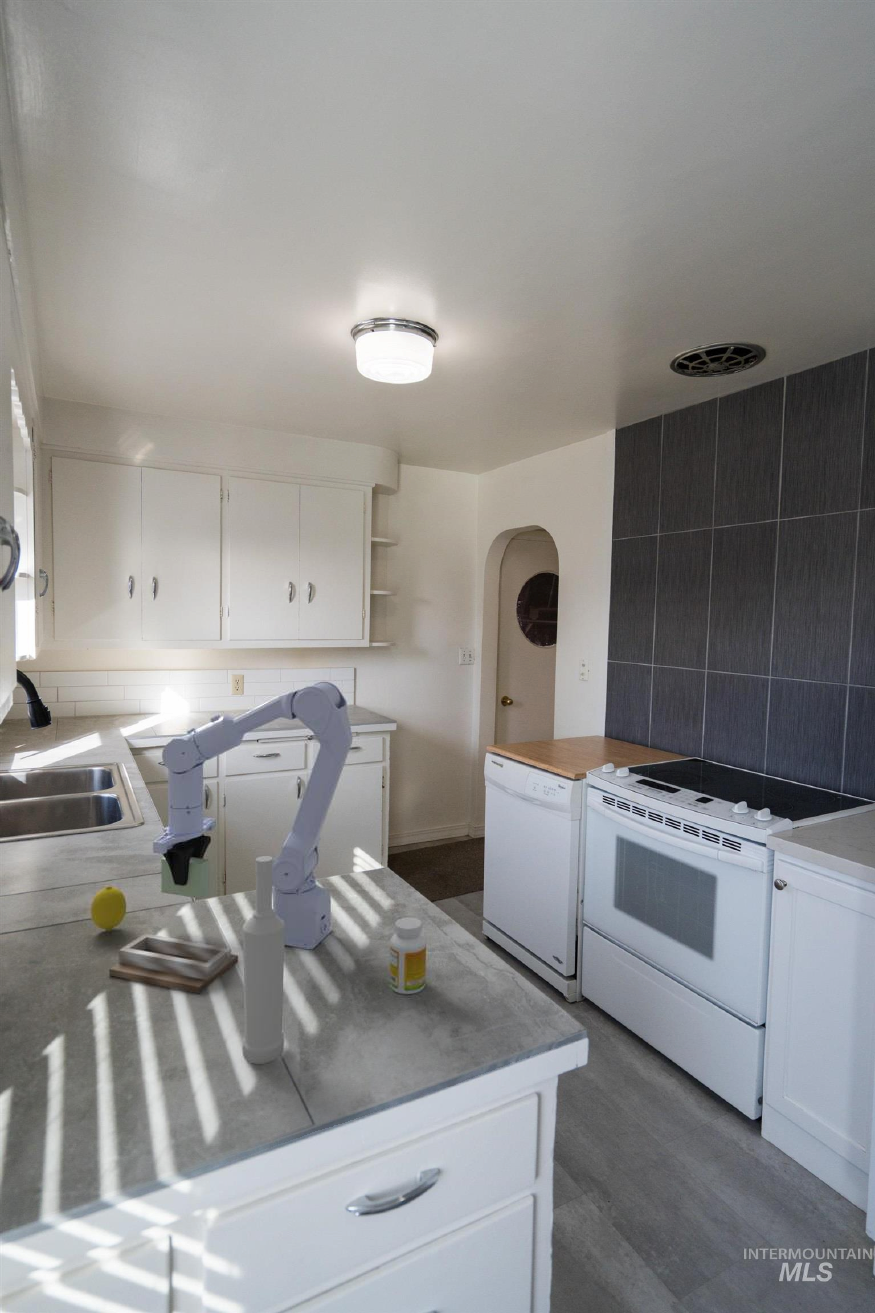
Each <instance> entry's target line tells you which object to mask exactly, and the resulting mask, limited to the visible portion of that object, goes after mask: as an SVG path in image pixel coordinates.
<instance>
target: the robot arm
mask: <svg viewBox="0 0 875 1313" xmlns="http://www.w3.org/2000/svg"><path fill="white" fill-rule="evenodd" d="M280 718H281V719H286V720H291V721H293V720H295V719H298V720H299V721H300V722H301V723H302V724H303V725H304V726H305V727H307V728H308V729H309V730H310V731H311V732H312V733H313V735H314V736H315V738H316V740H317V742H318V743H319V745H320V746H319V749H318V753H317V754H316V758H315V761H314V763H313V766H312V769H311V772H310V775H309V778H308V781H307V784H306V786H305V790H304V793H303V794H302V795H303V796H302V798H301V801H300V804H299V807H298V810H297V813H296V816H295V818H294V821H293V824H292V827H291V830H290V832H289V834H288V836H287V837H286V840H285V841H284V843H283V845H282V848H281V851H280V852H279V854H278V856H277V857H276V858H274V859H273V864H272V909H273V910H275V915H277V916H278V917H279V918H281V919H282V920H283V921H284V923H285V936H284V946H289V947H295V948H300V949H305V950H306V949H307V950H313V949H314V948H315V947H317V946H318V944H319V943H321V942H322V941H323V939H325V938H326V937H327V936H328V935H329V934H330V933H331V932H332V931H333V927H332V926H331V921H332V920H331V917H332V916H331V913H332V912H331V910H332V909H331V902H332V901H331V900H332V899H331V897H332V896H331V892H330V891H329V890H328V889H327V888H324V887H322V886H320V885H319V884H317V880H316V876H315V874H314V872H313V871H314V870H315V869H316V867H317V866H318V864H319V860H320V855H319V844H320V842H321V832H322V828H323V827H324V824H325V821H326V818H327V815H328V813H329V812H328V811H329V809H330V806H331V803H332V800H333V798H334V796H335V792H336V789H337V786H338V783H339V780H340V778H341V775H342V772H343V769H344V766H345V764H346V760H347V758H348V754H349V752H350V749H351V747H352V743H353V733H352V727H351V723H350V719H349V714H348V701H347V699H346V698H345V697H344V694H342V692H341V691H340V689H339V687H338V686H337V685H335V684H334V683H332V682H329V681H319V682H316V683H313V685H310V686H305V687H302V688H299V689H295V690H293V691H292V690H291V691H289V692H285V693H283V694H280V695H277V696H276V697H274V698H272V699H269V700H268V701H267V702H264V703H262V704H261V705H259V706H257V707H255V708H253V709H251V710H249V711H247V712H245V713H244V714H241V715H240V716H238V717H233V716H231V715H226V714H225V715H222V716H221V715H220V714H217V715H215V716H213V717H210V722H208V723H206V724H205V725H202V726H200V727H198V728H194V727H193V728H190V729H188V730H187V731H186V733H187V734H185V735H183V736H180V737H175V738H173V739H171V740H170V741H169V742H168V743H167V744H166V745H165V746H164V747H163V749H162V752H161V758H162V762H163V764H164V766H165V768H167V769H168V770H167V771H168V772H167V773H168V777H167V778H168V780H167V782H168V783H167V784H168V786H167V790H168V791H167V792H168V794H167V796H168V798H167V800H168V801H167V802H168V803H167V804H168V812H167V813H168V817H167V818H168V826H167V827H164V828H163V833H162V835H161V836H160V837H158V838H157V839H156V840H154V841H153V842H152V854H158V855H159V854H160V855H162V856H163V858H164V857H165V859H166V861H167V863H168V865H169V867H170V870H171V874H172V877H173V881H174V884H175V885H181V886H185V885H186V884H187V880H188V871H189V863H190V859H191V857H194V858H201V859H204V856H205V854H206V851H207V850H208V848H209V846H210V844H211V842H212V837H211V836H210V835H205V833H206V832H208V831H214V830H216V826H217V825H216V821H217V820H216V818H211V817H204V763H205V762H206V761H209V760H213V758H215V757H218V756H220V755H222V754H224V753H226V752H228V751H231V750H232V749H234V748H236V747H238V746H240V745H241V744H242V742H243V738H244V737H245V736H244V735H245V734H247V733H250V732H251V731H254V730H256V729H258V728H261V727H263V726H264V725H266V724H269V723H271V722H273V721H275V720H278V719H280Z"/></svg>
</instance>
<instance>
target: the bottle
mask: <svg viewBox="0 0 875 1313" xmlns="http://www.w3.org/2000/svg"><path fill="white" fill-rule="evenodd" d="M273 861H274V859H273V857H272V856H270V855H262V856H258V857H256V858H255V878H256V879H255V910H254V911H253V912H252V916H251V917H249V919H248V920H247V921H246V922H245V923H244V924H243V925H242V945H243V946H242V950H243V954H242V957H243V958H242V959H243V963H242V964H243V1005H244V1006H243V1007H244V1008H243V1010H244V1019H243V1020H244V1037H243V1038H242V1054H243V1055H242V1056H243V1057H244V1059H245V1061H247V1062H248V1063H251V1064H253V1065H255V1064H256V1065H263V1064H269V1063H271V1062H274V1061H276V1059H278V1058H279V1057H280V1056H281V1054H282V1053H283V1050H284V1047H285V1046H284V1045H285V1036H284V1032H283V1008H284V1007H283V1004H284V1003H283V1001H284V998H283V997H284V970H285V969H284V968H285V966H284V963H285V945H284V936H285V923H284V921H283V920H282V919H281V918H279V917H278V916H277V915H275V910H273V885H272V864H273Z"/></svg>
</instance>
